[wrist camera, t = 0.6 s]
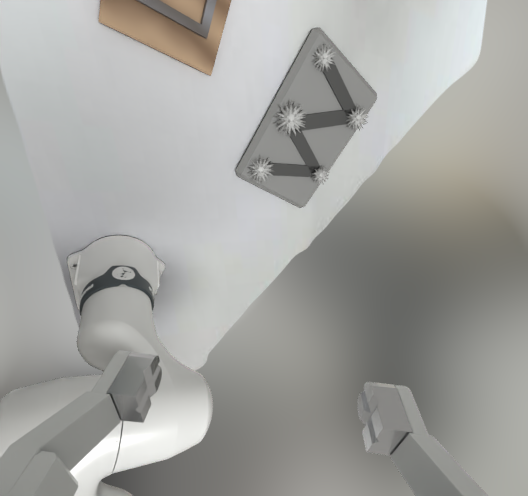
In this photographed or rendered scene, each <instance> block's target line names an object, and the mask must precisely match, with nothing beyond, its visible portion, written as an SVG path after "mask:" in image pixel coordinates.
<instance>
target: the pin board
mask: <svg viewBox="0 0 528 496" xmlns="http://www.w3.org/2000/svg"><path fill="white" fill-rule="evenodd" d="M230 3H231V0H101V1H100V12H99V22H100V23H102V24H104V25H106V26H108V27H110V28H112V29H114V30H116V31H118V32H120V33H123V34H125V35H127V36H129V37H131V38H133V39H135V40H137V41H139V42H141V43H143V44H145V45H147V46H149V47H152V48H154V49H156V50H158V51H160V52H162V53H164V54H166V55H168V56H170V57H172V58H174V59H176V60H178V61H181V62H183V63H185V64H187V65H189V66H191V67H193V68H195V69H197V70H199V71H201V72H203V73H205V74H207V75H210V76H211V74H212V70H213V66H214V62H215V59H216V55H217V51H218V48H219V44H220V40H221V36H222V33H223V29H224V25H225V21H226V18H227V14H228V10H229V7H230Z"/></svg>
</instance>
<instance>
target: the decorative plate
mask: <svg viewBox="0 0 528 496" xmlns="http://www.w3.org/2000/svg"><path fill="white" fill-rule="evenodd" d="M376 99H377V93H376V92H375V91H374V90H373V89H372V87H371V86H370V85H369V84H368V83H367V82H366V81H365V79H364V78H363V77H362V76H361V75H360V74H359V72H358V71H357V70H356V69H355V68H354V67H353V65H352V64H351V63H350V62H349V61H348V60H347V58H346V57H345V56H344V55H343V54H342V53H341V51H340V50H339V49H338V48H337V47H336V46H335V45H334V43H333V42H332V41H331V40H330V39H329V38H328V36H327V35H326V34H325V33H324V32H323V31H322V29H321V28H316V29H312V31H311V32H310V34H309V36H308V38H307V40H306V42H305V43H304V45H303V47H302V49H301V51H300V53H299V54H298V56H297V58H296V60H295V62H294V64H293V66H292V67H291V69H290V71H289V73H288V75H287V77H286V78H285V80H284V82H283V84H282V86H281V88H280V89H279V91H278V93H277V95H276V97H275V99H274V101H273V102H272V104H271V106H270V108H269V110H268V112H267V113H266V115H265V117H264V119H263V121H262V123H261V124H260V126H259V128H258V130H257V132H256V134H255V136H254V137H253V139H252V141H251V143H250V145H249V147H248V148H247V150H246V152H245V154H244V156H243V158H242V159H241V161H240V163H239V165H238V167H237V169H236V173H237V176H238V177H239V178H241V179H243V180H245V181H247V182H249V183H251V184H253V185H255V186H257V187H259V188H261V189H263V190H265V191H267V192H269V193H271V194H273V195H275V196H277V197H279V198H281V199H283V200H285V201H287V202H289V203H291V204H293V205H295V206H297V207H299V208H301V207H304V206H305V205H306V204H307V202H308V201H309V200H310V198H311V197H312V195H313V194H314V192H315V191H316V189H317V188H318V186H319V185H320V183H321V182H322V183H323V180H324V181H326V180H325V179H328V178H327V177H325V176H327V175H328V174H327V173H329V172H328V171H329V170H330V168H331V167H332V165H333V164H334V162H335V161H336V159H337V158H338V156H339V155H340V153H341V152H342V150H343V149H344V148H345V146H346V145H347V143H348V142H349V140H350V139H351V137H352V136H353V134H354V133H355V131H356V130H357V128H358V129H359V127H360V126H361V127H362V125H361V124H363V123H364V122H366V121H365V119H364V118H367V117H365V116H367V114H368V112H369V110H370V109H371V107H372V106H373V104H374V103H375V101H376ZM364 124H366V123H364ZM364 124H363V125H364ZM361 127H360V129H361ZM360 129H359V130H360ZM324 178H325V179H324Z"/></svg>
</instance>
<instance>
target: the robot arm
mask: <svg viewBox="0 0 528 496" xmlns="http://www.w3.org/2000/svg"><path fill="white" fill-rule="evenodd" d="M67 264H68V268H69V273H70V277H71V282H72V286H73V291H74V295H75V300H76V304H77V308H78V310H80V315H81V319H80V325H79V331H78V337H77V347H78V351H79V352H80V354H81V356H82V357H83V359H84V360H85V361H86V362H87V363H88V364H89V365H91V366H93V367H95V368H97V369H99V370H102V371H104V372H103V374H99V375H86V376H74V377H62V378H58V379H54V380H50V381H45V382H41V383H37V384H33V385H29V386H25V387H22V388H18V389H15V390H12V391H11V392H9V393H8V394H7V395H5V396H4V397H3V398H2V399H1V400H0V496H133V495H131V494H130V493H129V492H127V491H125V490H123V489H120V488H117V487H113V486H110V485H107V484H104V483H103V482H101V479H103V478H104V477H106V476H108V475H110V474H111V473H116V472H119V471H123V470H127V469H131V468H135V467H138V466H142V465H146V464H150V463H154V462H158V461H162V460H166V459H168V458H170V457H172V456H175V455H177V454H179V453H181V452H183V451H185V450H187V449H188V448H190V447H192V446H194V445H196V444H198V443H199V442H200V441H201V440H202V439H203V437H204V436H205V434H206V432H207V430H208V427H209V425H210V421H211V418H212V411H213V399H212V394H211V390H210V387H209V385H208V383H207V381H206V380H205V379H204V377H203V376H202V375H201V374H200V373H199V372H197V371H194V370H192V369H190V368H188V367H187V366H185V365H183V364H182V363H180V362H179V361H178V360H177V359H175V358H174V357H173V356H172V355H171V354H170V353H169V352H168V351H167V349H166V348H165V347H164V346H163V344H162V343H161V341H160V340H159V338H158V336H157V334H156V330H155V325H154V320H153V314H152V310H153V307H154V295H156V294H157V288H159V278H160V277H161V275H162V273H163V271H164V269H165V264H164V263H163V262H162V261H161V260H160V259H158V258H157V257H156V256H155V255H154V253H153V251H152V250H151V248H150V247H149V246H148V245H147V244H145V243H144V242H142V241H141V240H138V239H136V238H133V237H129V236H120V235H117V236H108V237H104V238H101V239H99V240H96V241H95V242H93V243H91V244H90V245H89V246H88V247H86V248H85V249H84V250H82V251H79V252H76V253H73V254H71V255H69V256H68V258H67ZM74 264H77V265H74ZM364 390H365V391H364V392H362V393H360V395H359V397H358V414H359V418H360V420H361V421H362V422H363V424H364V425H365V427H364V429H363V432H362V433H363V438H364V442H365V446H366V451H367V452H369V453H376V454H382V455H388V456H390V458H391V460H392V461H393V463H394V464H395V466H396V467H397V469H398V470H399V472H400V474H401V475H402V476H403V478H404V480H405V481H406V483H407V484H408V485H409V487H410V488H411V490H412V491H413V493H414V495H415V496H488V495H487V494H486V493H485V492H484V491H483V490H482V489H481V487H479V485H478V484H477V483H476V482H475V481H474V480H473V479H472V478H471V477H470V476H469V475H468V474H467V472H466V471H465V470H464V469H463V468H462V467H461V466H460V465H459V464H458V463H457V462H456V460H455V459H454V458H453V457H452V456H451V455H450V454H449V453H448V452H447V451H446V450H445V449H444V448H443V446H442V445H441V444H440V443H439V442H438V441H437V440H436V439H435V438H434V437H433V436H430V435H428V432H427V430H426V427H425V425H424V422H423V420H422V417H421V415H420V412H419V410H418V407H417V405H416V402H415V400H414V398H413V395H412V393H411V391H410V389H409V388H408V387H406V386H399V385H392V384H383V383H374V382H367V383H365V385H364Z"/></svg>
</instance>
